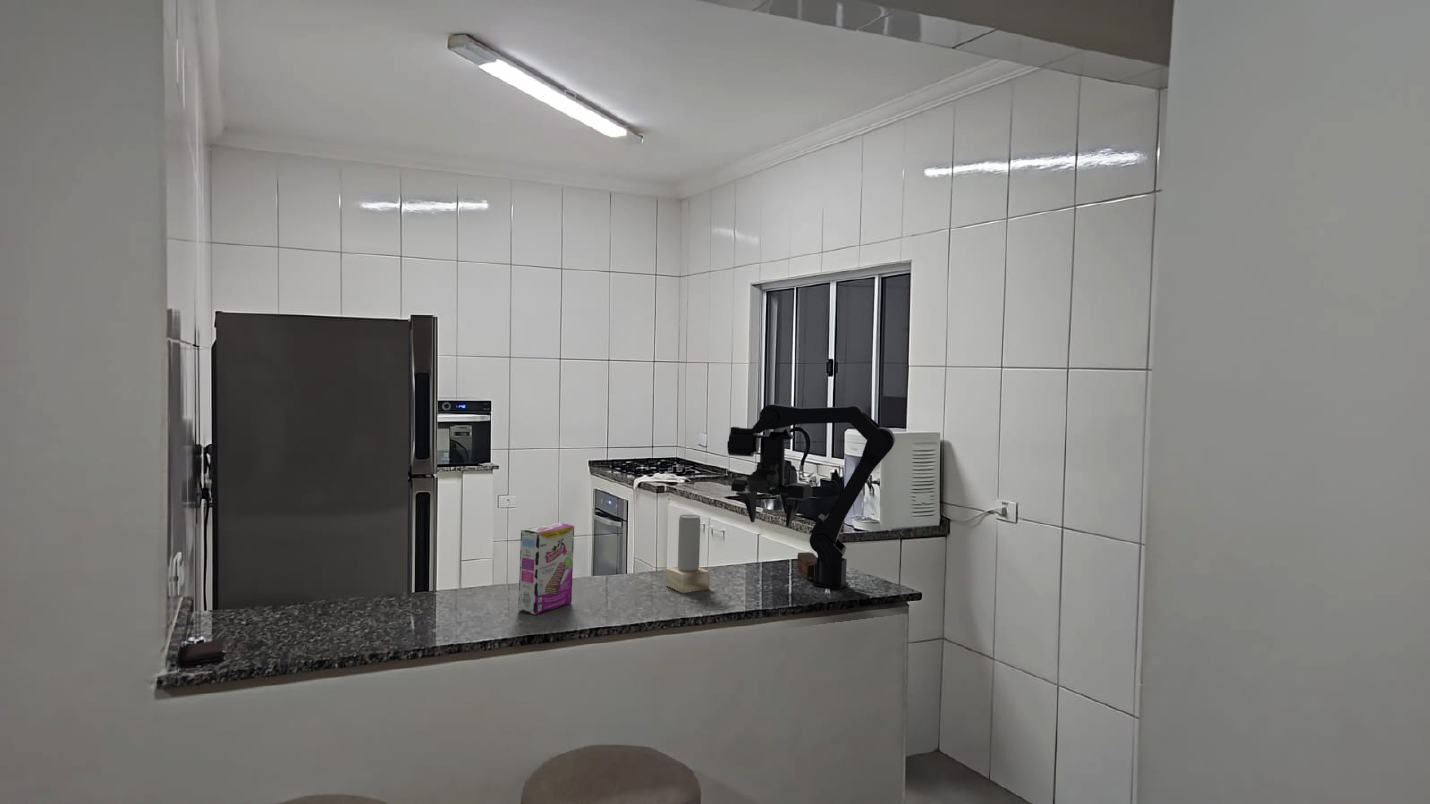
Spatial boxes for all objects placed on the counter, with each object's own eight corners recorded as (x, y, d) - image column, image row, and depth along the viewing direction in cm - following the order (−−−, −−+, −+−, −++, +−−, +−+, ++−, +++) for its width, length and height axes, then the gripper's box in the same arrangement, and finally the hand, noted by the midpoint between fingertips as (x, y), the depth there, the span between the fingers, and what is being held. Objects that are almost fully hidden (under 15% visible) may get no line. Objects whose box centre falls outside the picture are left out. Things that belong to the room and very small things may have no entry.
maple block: (691, 582, 202) (691, 564, 202) (709, 588, 197) (709, 571, 196) (665, 585, 198) (665, 568, 198) (682, 593, 192) (683, 574, 192)
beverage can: (679, 566, 200) (680, 513, 200) (700, 567, 200) (701, 514, 199) (676, 571, 195) (677, 517, 195) (697, 572, 195) (699, 518, 194)
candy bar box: (536, 616, 172) (538, 532, 172) (517, 611, 175) (518, 529, 174) (573, 603, 182) (575, 524, 181) (555, 599, 184) (556, 521, 184)
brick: (796, 570, 217) (796, 552, 217) (812, 570, 218) (812, 551, 217) (806, 581, 207) (807, 562, 206) (823, 581, 207) (823, 561, 207)
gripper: (720, 457, 203) (718, 524, 204) (793, 464, 194) (791, 534, 194) (743, 453, 213) (741, 518, 213) (814, 460, 203) (812, 527, 204)
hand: (770, 524), depth 206 cm, fingers open, 9 cm apart
